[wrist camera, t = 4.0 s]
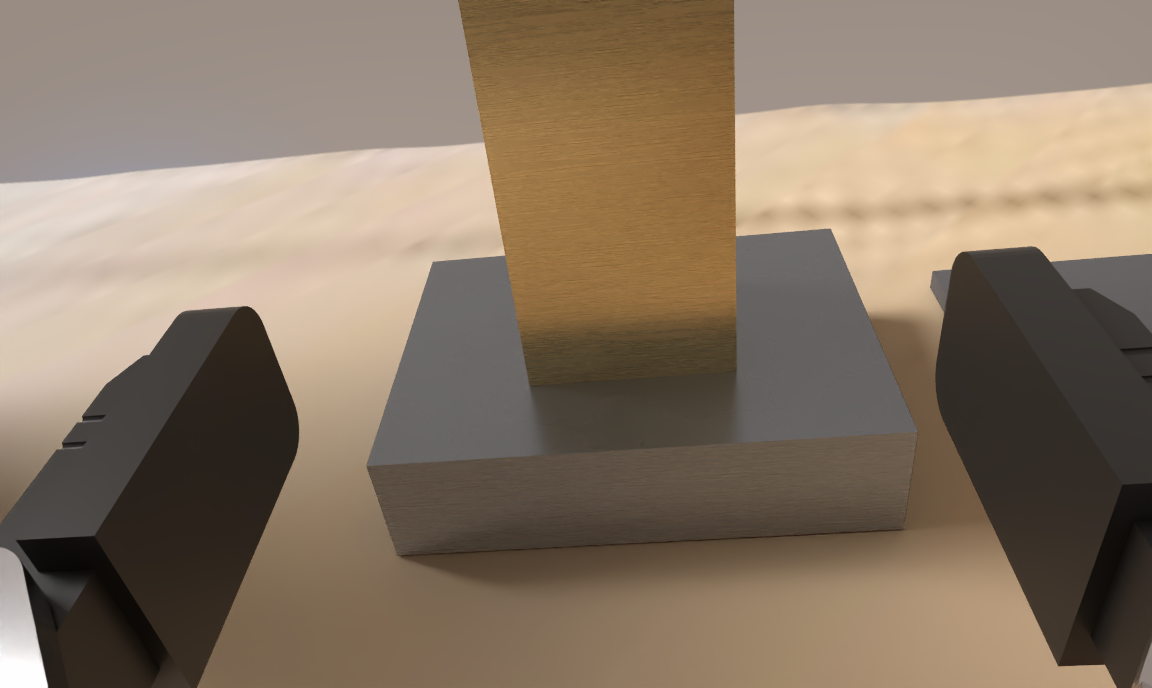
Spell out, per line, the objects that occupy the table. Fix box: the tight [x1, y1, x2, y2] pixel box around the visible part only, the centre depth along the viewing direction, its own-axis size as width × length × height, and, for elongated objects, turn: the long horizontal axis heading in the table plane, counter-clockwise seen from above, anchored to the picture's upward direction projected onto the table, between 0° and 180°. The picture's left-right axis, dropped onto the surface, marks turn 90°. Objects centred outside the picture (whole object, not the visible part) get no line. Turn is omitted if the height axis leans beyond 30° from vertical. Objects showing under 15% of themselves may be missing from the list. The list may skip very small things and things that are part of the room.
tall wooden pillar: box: [458, 0, 737, 386], centre depth 19 cm, size 5×4×12 cm
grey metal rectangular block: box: [367, 229, 918, 555], centre depth 23 cm, size 12×9×3 cm
